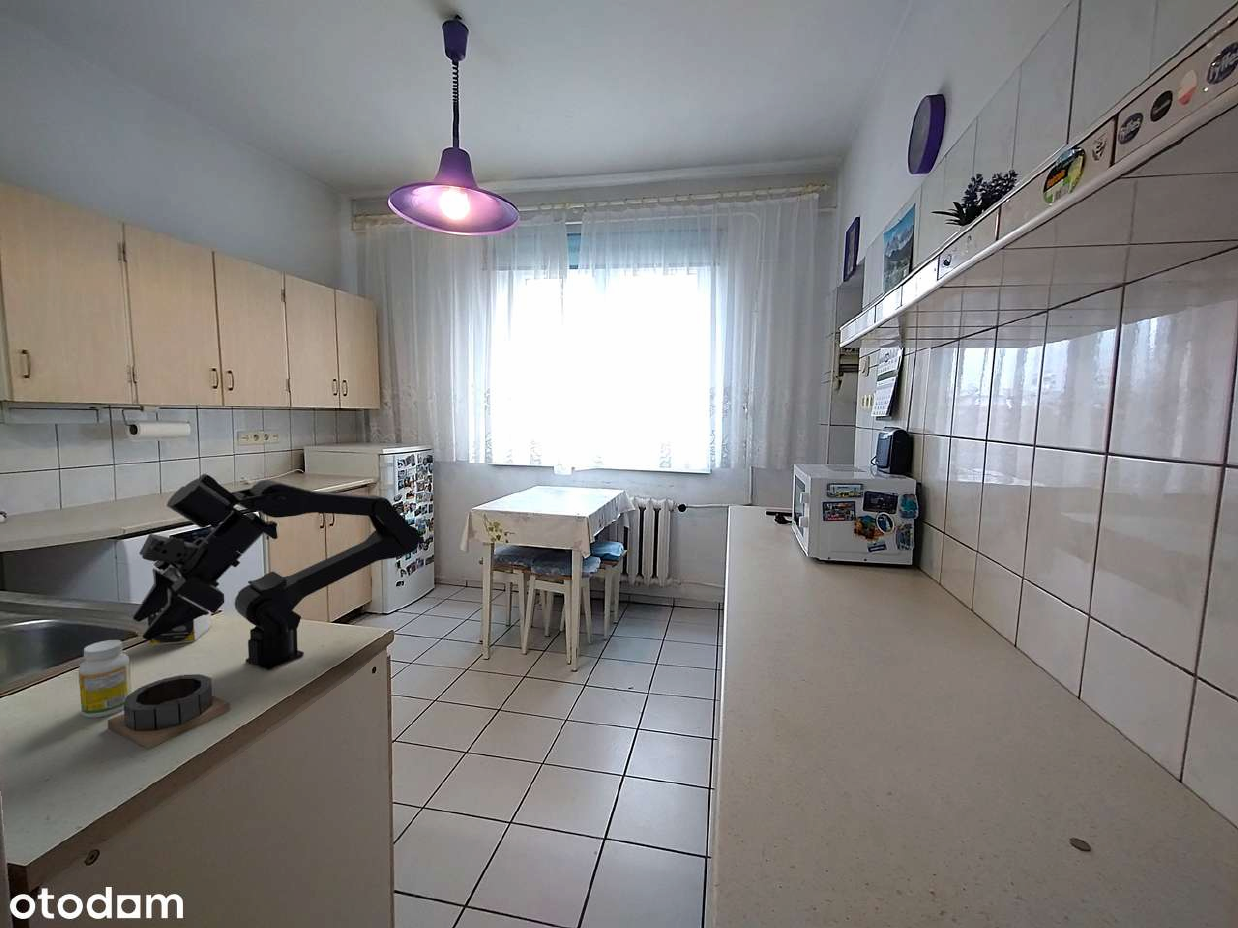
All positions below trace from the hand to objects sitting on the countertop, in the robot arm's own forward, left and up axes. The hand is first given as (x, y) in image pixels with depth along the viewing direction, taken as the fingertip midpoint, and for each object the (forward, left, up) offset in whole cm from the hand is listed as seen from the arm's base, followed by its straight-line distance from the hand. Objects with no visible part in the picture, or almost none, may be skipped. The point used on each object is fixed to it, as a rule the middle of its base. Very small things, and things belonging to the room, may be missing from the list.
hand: (140, 629), depth 80 cm
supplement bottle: (+4, -1, -11) cm, 12 cm away
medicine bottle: (-15, -19, -11) cm, 26 cm away
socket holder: (+1, +10, -11) cm, 15 cm away
